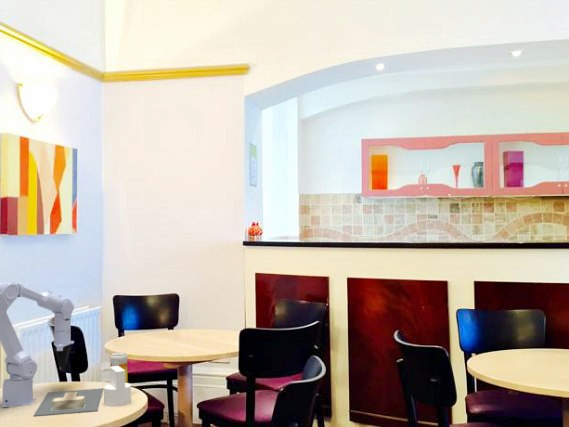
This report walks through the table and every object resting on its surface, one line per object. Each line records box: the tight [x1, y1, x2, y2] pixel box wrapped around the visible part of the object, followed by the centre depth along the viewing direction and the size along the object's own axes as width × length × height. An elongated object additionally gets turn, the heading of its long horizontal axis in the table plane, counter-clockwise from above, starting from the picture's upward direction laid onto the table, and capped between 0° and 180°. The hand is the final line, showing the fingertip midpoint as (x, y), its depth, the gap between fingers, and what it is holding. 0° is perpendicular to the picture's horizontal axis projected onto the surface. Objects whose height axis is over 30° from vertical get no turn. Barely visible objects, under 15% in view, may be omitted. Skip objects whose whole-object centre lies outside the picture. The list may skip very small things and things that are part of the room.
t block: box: [52, 392, 85, 410], centre depth 198 cm, size 10×10×3 cm
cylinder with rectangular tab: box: [103, 366, 132, 407], centre depth 201 cm, size 9×9×12 cm
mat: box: [33, 387, 104, 418], centre depth 203 cm, size 20×28×1 cm
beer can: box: [109, 351, 129, 383], centre depth 212 cm, size 6×6×15 cm
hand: (62, 366), depth 217 cm, fingers closed
